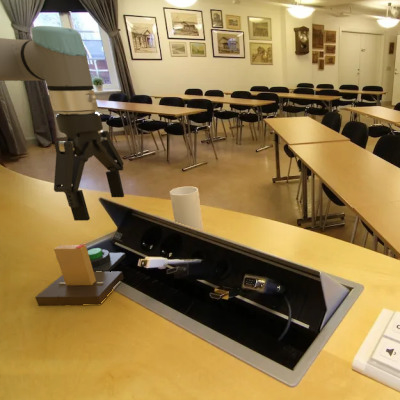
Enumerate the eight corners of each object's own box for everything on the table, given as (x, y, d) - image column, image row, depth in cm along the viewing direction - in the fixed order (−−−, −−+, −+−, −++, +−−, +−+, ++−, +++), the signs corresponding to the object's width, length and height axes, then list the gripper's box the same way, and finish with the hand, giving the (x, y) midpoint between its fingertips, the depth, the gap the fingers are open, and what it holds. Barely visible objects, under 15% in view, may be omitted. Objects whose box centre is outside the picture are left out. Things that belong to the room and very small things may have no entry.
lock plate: (38, 306, 73) (34, 296, 72) (68, 279, 82) (66, 271, 82) (100, 305, 74) (98, 295, 73) (124, 279, 83) (122, 270, 82)
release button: (84, 260, 86) (82, 254, 86) (92, 253, 90) (91, 247, 89) (97, 260, 87) (96, 254, 86) (105, 253, 90) (104, 247, 89)
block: (65, 274, 85) (62, 264, 84) (87, 256, 93) (85, 247, 92) (108, 274, 85) (105, 264, 84) (126, 256, 93) (124, 247, 92)
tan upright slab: (65, 285, 76) (53, 248, 72) (71, 281, 78) (59, 244, 74) (91, 285, 76) (80, 247, 73) (96, 280, 78) (85, 244, 74)
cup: (176, 243, 101) (168, 196, 95) (179, 232, 108) (171, 187, 102) (203, 240, 103) (197, 193, 97) (204, 229, 110) (198, 185, 105)
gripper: (50, 120, 54) (82, 232, 62) (127, 106, 77) (144, 189, 85) (5, 119, 54) (43, 232, 62) (96, 106, 77) (115, 189, 85)
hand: (101, 207), depth 73 cm, fingers open, 13 cm apart
